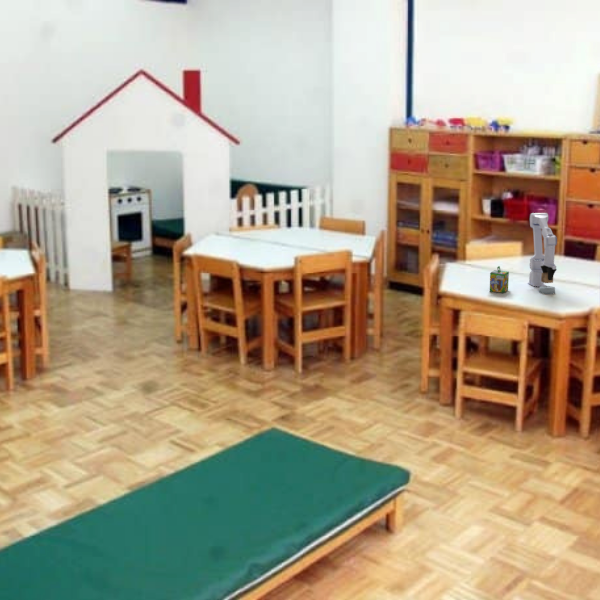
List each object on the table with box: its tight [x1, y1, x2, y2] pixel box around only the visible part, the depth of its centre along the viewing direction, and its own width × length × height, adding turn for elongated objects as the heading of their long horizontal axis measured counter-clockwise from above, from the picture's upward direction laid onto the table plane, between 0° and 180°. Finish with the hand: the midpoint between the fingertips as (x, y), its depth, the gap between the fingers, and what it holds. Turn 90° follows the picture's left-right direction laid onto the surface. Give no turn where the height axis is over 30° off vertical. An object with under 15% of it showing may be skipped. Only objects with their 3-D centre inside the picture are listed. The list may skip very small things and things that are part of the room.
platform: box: [538, 285, 556, 295], centre depth 519 cm, size 9×9×3 cm
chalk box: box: [489, 265, 510, 294], centre depth 522 cm, size 9×9×15 cm
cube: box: [541, 273, 554, 284], centre depth 517 cm, size 5×5×5 cm
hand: (547, 278), depth 518 cm, fingers closed on cube, 5 cm apart
